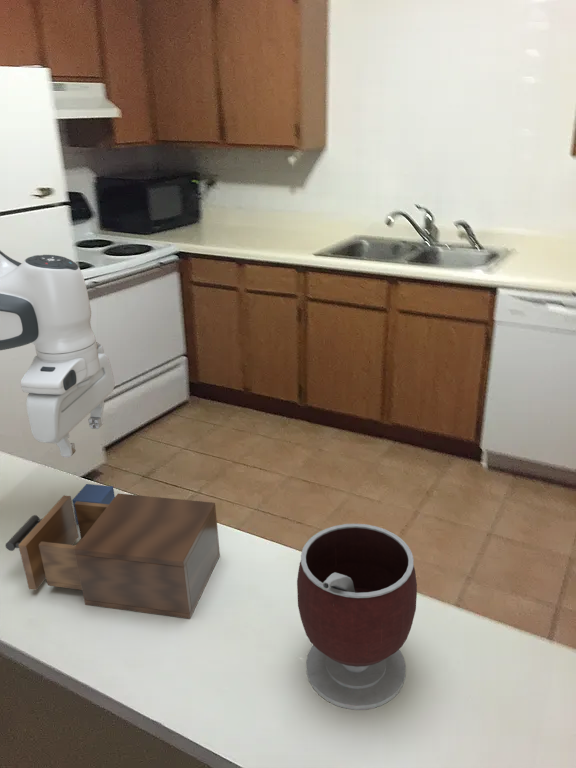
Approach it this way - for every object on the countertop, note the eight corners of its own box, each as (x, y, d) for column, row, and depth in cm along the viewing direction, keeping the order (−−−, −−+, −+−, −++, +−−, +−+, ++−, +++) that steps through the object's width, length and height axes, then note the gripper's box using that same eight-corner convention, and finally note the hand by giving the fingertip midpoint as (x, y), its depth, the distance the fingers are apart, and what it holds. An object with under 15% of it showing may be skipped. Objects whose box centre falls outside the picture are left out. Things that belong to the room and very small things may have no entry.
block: (76, 524, 113) (72, 499, 111) (90, 507, 117) (86, 483, 115) (104, 527, 112) (99, 502, 110) (117, 510, 116) (113, 486, 114)
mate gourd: (327, 614, 92) (326, 490, 84) (426, 647, 86) (435, 518, 78) (274, 699, 79) (266, 564, 71) (385, 745, 73) (390, 604, 65)
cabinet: (84, 604, 95) (73, 548, 91) (126, 544, 107) (117, 493, 103) (190, 618, 92) (183, 561, 88) (220, 555, 104) (215, 502, 100)
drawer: (1, 585, 98) (-11, 541, 95) (46, 533, 109) (37, 492, 106) (122, 601, 94) (114, 556, 91) (156, 545, 105) (150, 503, 102)
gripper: (82, 337, 112) (95, 410, 118) (13, 386, 94) (31, 471, 100) (117, 338, 111) (128, 413, 117) (53, 389, 93) (70, 474, 99)
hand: (83, 440), depth 108 cm, fingers open, 8 cm apart
